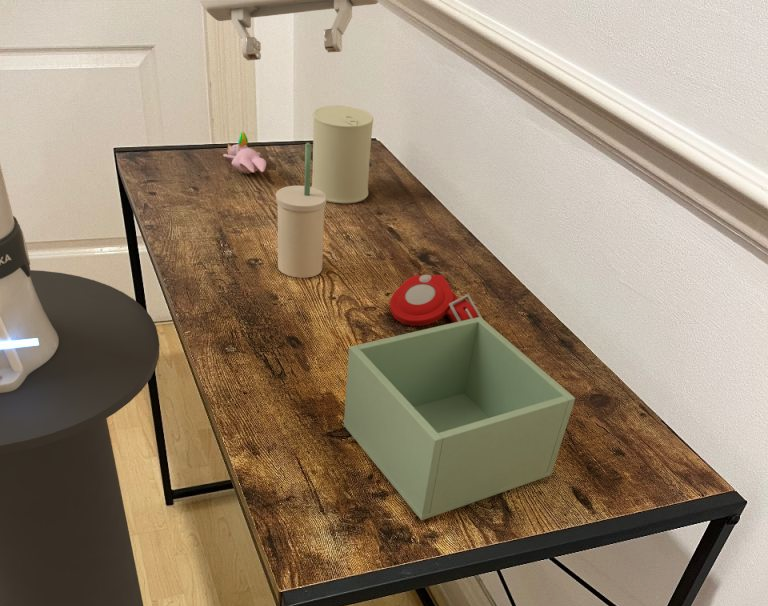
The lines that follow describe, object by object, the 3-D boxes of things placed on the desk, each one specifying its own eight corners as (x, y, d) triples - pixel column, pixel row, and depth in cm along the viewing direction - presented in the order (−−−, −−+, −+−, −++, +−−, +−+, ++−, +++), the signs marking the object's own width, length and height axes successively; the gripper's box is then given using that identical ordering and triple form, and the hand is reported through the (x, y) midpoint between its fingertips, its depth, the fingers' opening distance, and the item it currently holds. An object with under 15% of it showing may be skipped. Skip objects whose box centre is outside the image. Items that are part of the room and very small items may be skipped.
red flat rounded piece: (381, 317, 96) (395, 263, 101) (388, 343, 99) (401, 290, 105) (479, 315, 93) (489, 260, 98) (482, 342, 96) (491, 288, 102)
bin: (421, 520, 72) (435, 440, 66) (343, 425, 82) (348, 346, 75) (551, 475, 79) (575, 398, 72) (465, 391, 88) (480, 316, 81)
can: (325, 206, 121) (328, 124, 112) (301, 183, 126) (303, 103, 118) (378, 200, 124) (384, 120, 116) (352, 178, 130) (357, 100, 121)
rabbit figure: (218, 164, 132) (239, 184, 121) (214, 125, 129) (236, 142, 117) (254, 162, 134) (278, 182, 123) (252, 124, 131) (276, 141, 119)
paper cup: (288, 282, 102) (289, 155, 91) (268, 260, 106) (267, 136, 95) (331, 274, 105) (337, 150, 94) (311, 253, 109) (314, 131, 98)
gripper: (185, -93, 82) (191, 52, 84) (373, -121, 77) (373, 33, 79) (212, -62, 88) (217, 72, 90) (388, -86, 83) (388, 56, 85)
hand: (292, 54), depth 85 cm, fingers open, 8 cm apart
